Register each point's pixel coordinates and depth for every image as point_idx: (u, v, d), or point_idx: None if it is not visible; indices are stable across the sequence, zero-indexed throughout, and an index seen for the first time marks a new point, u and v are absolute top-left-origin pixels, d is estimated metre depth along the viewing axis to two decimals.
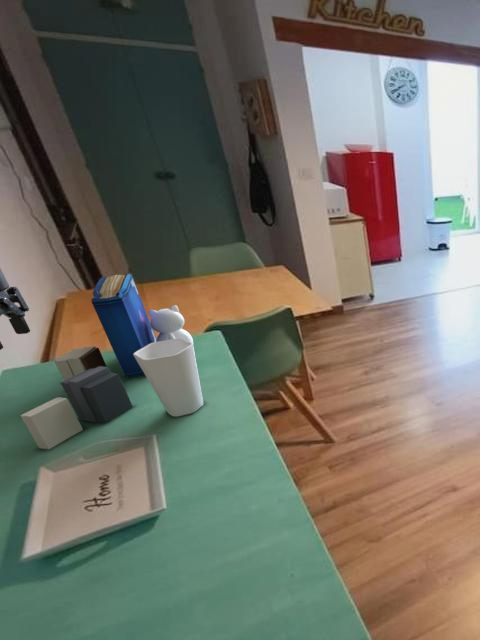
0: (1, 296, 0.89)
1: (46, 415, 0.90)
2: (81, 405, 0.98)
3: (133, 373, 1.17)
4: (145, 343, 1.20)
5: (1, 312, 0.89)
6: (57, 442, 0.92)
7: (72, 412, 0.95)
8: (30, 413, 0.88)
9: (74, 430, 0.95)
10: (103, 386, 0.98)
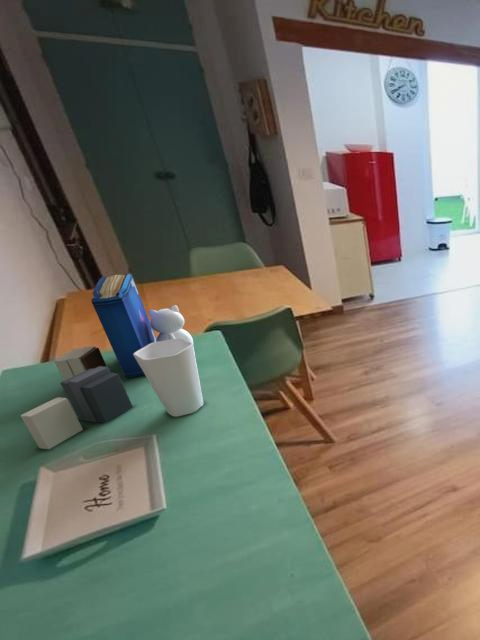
0: None
1: (46, 415, 0.90)
2: (81, 405, 0.98)
3: (133, 373, 1.17)
4: (145, 343, 1.20)
5: None
6: (57, 442, 0.92)
7: (72, 412, 0.95)
8: (30, 413, 0.88)
9: (74, 430, 0.95)
10: (103, 386, 0.98)
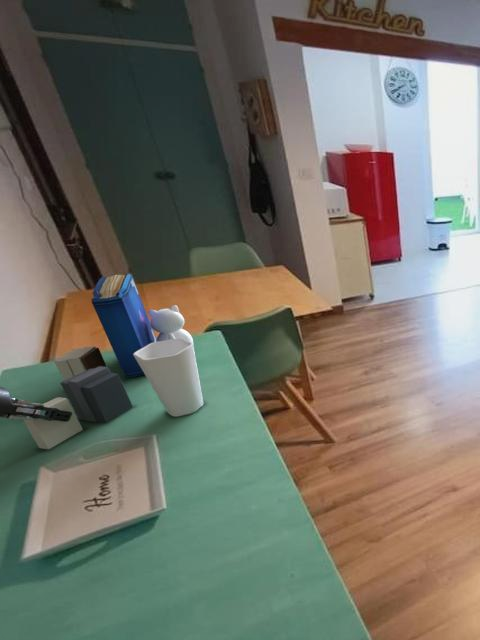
0: (9, 414, 0.83)
1: None
2: (81, 405, 0.98)
3: (133, 373, 1.17)
4: (145, 343, 1.20)
5: None
6: (57, 442, 0.92)
7: (72, 412, 0.95)
8: None
9: (74, 430, 0.95)
10: (103, 386, 0.98)
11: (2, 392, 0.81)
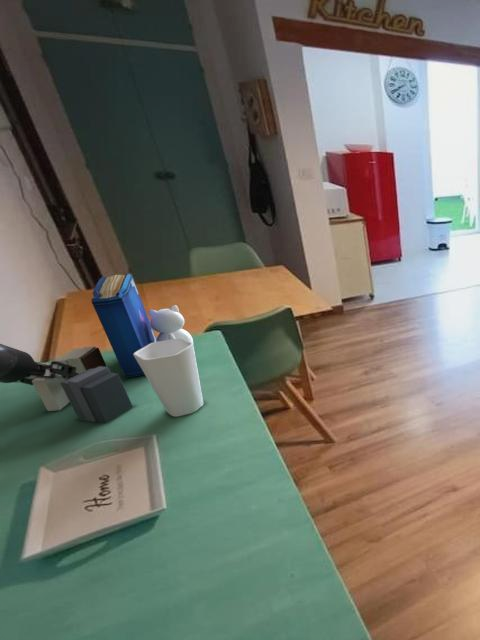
0: (30, 373, 0.96)
1: (54, 379, 1.02)
2: (81, 405, 0.98)
3: (133, 373, 1.17)
4: (145, 343, 1.20)
5: None
6: (64, 404, 1.05)
7: None
8: None
9: None
10: (103, 386, 0.98)
11: (25, 353, 0.94)
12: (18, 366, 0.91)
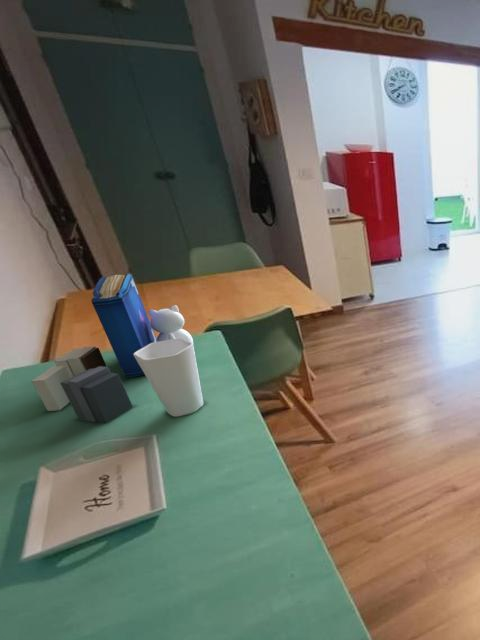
0: None
1: (54, 379, 1.02)
2: (81, 405, 0.98)
3: (133, 373, 1.17)
4: (145, 343, 1.20)
5: None
6: (64, 404, 1.05)
7: None
8: (41, 378, 1.00)
9: None
10: (103, 386, 0.98)
11: None
12: None
